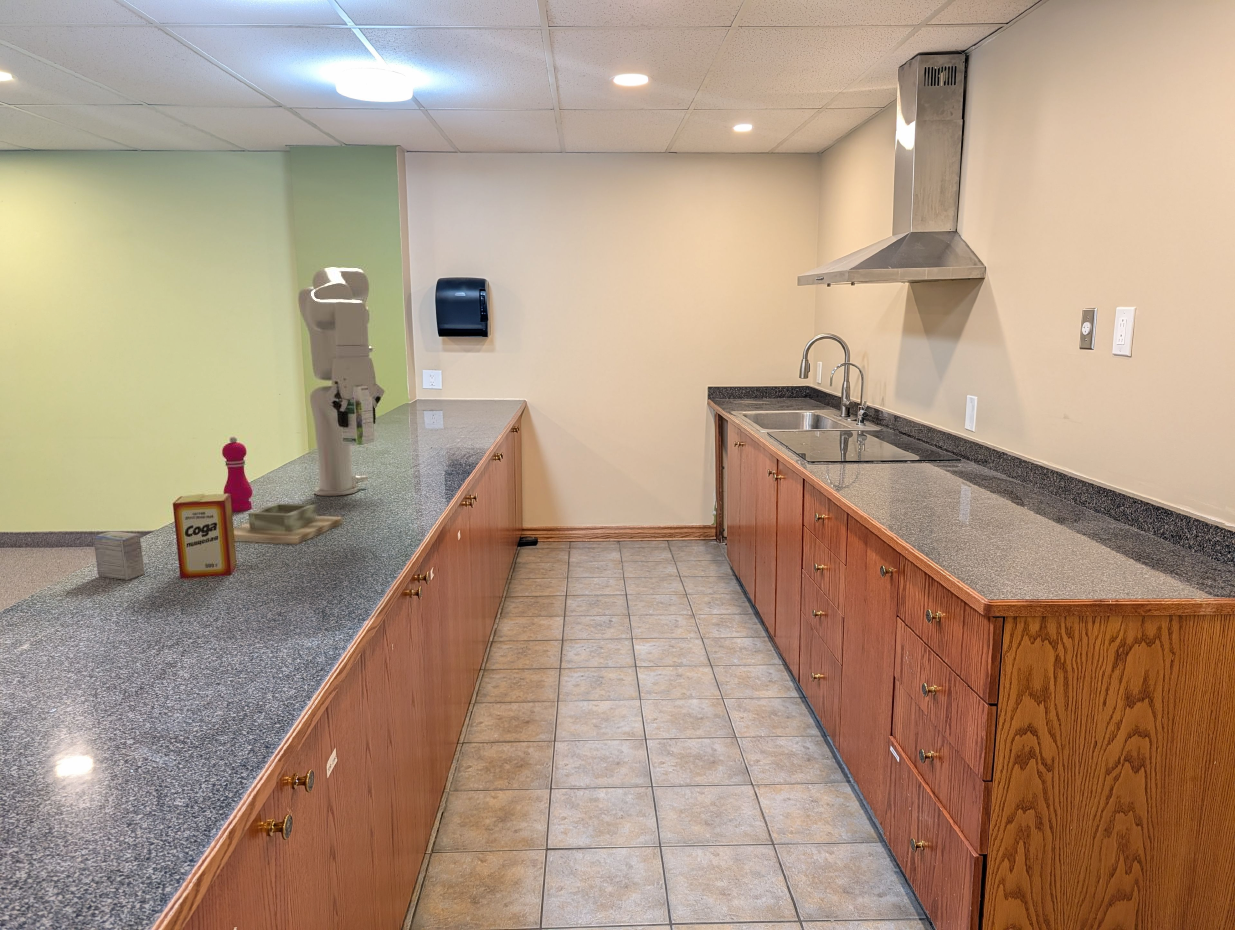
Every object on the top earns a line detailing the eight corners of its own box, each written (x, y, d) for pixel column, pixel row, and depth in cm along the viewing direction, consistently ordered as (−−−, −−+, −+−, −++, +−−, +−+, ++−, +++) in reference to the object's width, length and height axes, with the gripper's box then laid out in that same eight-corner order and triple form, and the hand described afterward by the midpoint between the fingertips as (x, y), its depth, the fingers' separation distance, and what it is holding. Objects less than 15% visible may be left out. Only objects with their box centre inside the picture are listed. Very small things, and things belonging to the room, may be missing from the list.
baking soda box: (236, 565, 177) (230, 491, 174) (231, 574, 171) (224, 498, 168) (187, 569, 175) (180, 494, 172) (180, 578, 168) (172, 501, 165)
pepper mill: (258, 506, 231) (252, 434, 228) (244, 512, 224) (238, 438, 221) (234, 505, 232) (227, 434, 228) (219, 511, 225) (212, 438, 221)
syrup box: (341, 444, 205) (337, 385, 202) (356, 440, 210) (352, 383, 208) (361, 445, 203) (357, 386, 200) (375, 441, 208) (372, 383, 206)
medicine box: (145, 574, 171) (141, 533, 170) (126, 581, 167) (121, 539, 166) (116, 570, 174) (112, 530, 172) (97, 577, 170) (92, 535, 168)
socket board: (273, 519, 216) (271, 498, 215) (342, 523, 212) (341, 501, 211) (221, 539, 197) (219, 516, 196) (297, 544, 193) (295, 521, 192)
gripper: (374, 350, 211) (378, 420, 215) (311, 353, 198) (316, 427, 201) (392, 351, 207) (396, 422, 210) (329, 354, 193) (334, 430, 197)
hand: (357, 424), depth 206 cm, fingers closed on syrup box, 7 cm apart
